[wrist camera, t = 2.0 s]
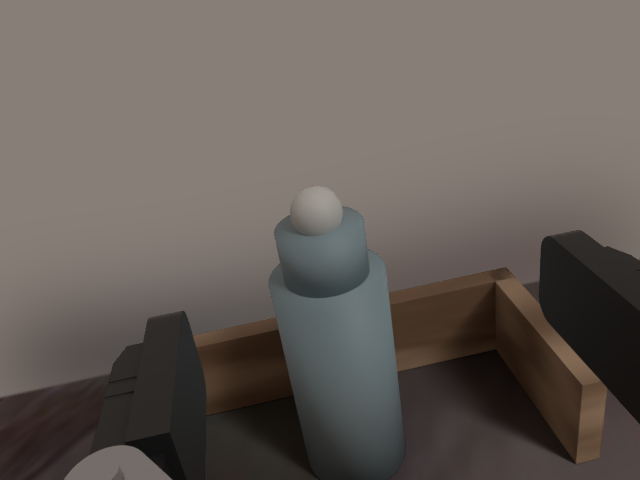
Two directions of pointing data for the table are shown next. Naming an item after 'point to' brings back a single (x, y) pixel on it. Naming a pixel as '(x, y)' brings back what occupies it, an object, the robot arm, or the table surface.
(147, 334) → the robot arm
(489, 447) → the table surface
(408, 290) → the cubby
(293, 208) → the pepper mill
